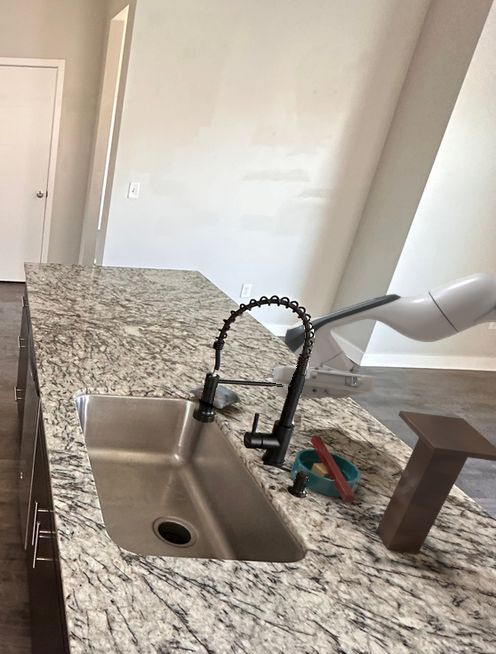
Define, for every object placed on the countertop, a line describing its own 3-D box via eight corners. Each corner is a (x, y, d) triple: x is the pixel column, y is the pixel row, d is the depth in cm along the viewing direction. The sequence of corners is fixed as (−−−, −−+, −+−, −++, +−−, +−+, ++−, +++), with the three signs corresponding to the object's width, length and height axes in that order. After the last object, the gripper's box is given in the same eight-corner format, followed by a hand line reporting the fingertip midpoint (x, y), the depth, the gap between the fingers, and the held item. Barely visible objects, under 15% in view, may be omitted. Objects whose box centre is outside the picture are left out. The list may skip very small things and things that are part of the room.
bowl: (340, 471, 123) (347, 453, 121) (362, 506, 112) (370, 487, 110) (283, 463, 125) (289, 445, 123) (299, 496, 114) (306, 477, 112)
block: (323, 475, 120) (328, 462, 119) (334, 486, 117) (340, 472, 115) (308, 476, 120) (313, 463, 118) (319, 486, 116) (325, 473, 115)
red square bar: (318, 442, 124) (320, 436, 124) (352, 503, 105) (355, 496, 104) (310, 441, 125) (312, 435, 124) (343, 501, 105) (346, 495, 105)
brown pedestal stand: (413, 531, 106) (469, 419, 94) (446, 578, 95) (514, 458, 84) (346, 521, 108) (393, 409, 97) (371, 565, 97) (428, 446, 86)
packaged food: (220, 415, 144) (224, 399, 142) (184, 396, 153) (188, 380, 151) (240, 408, 148) (245, 392, 146) (204, 390, 157) (208, 374, 155)
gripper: (265, 362, 133) (287, 357, 119) (356, 373, 129) (389, 368, 116) (262, 387, 132) (284, 385, 119) (353, 399, 129) (386, 398, 115)
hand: (336, 377), depth 117 cm, fingers open, 8 cm apart
